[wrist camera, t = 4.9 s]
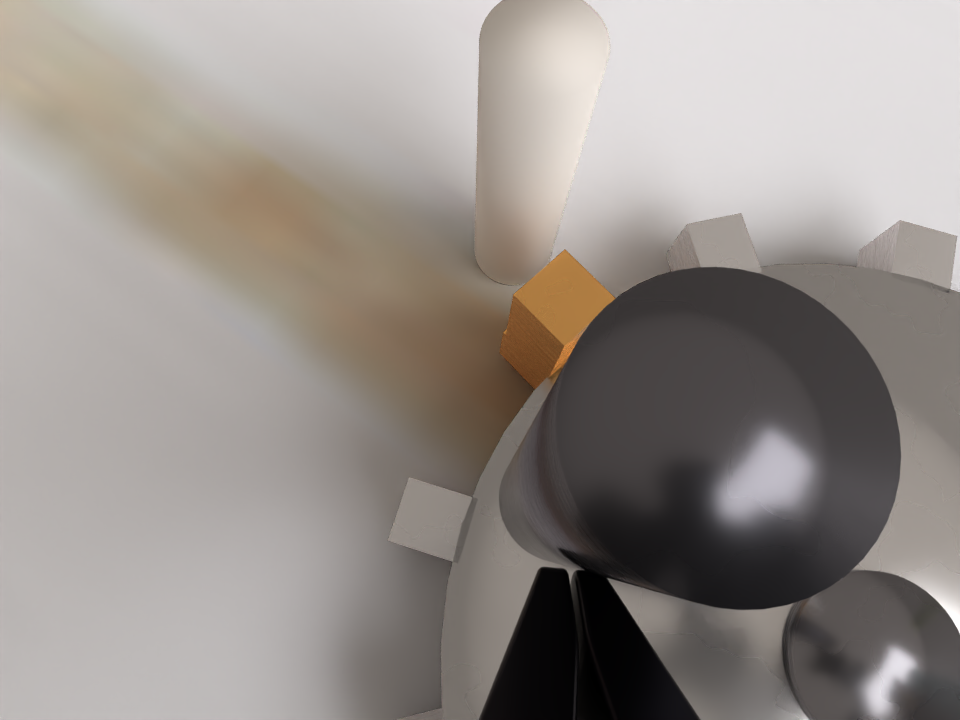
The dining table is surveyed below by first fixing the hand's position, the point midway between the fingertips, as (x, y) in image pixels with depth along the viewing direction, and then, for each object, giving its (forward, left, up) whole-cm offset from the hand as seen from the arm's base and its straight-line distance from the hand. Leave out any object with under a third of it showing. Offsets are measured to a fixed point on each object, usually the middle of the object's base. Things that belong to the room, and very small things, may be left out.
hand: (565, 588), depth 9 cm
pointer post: (+9, +4, -9) cm, 13 cm away
